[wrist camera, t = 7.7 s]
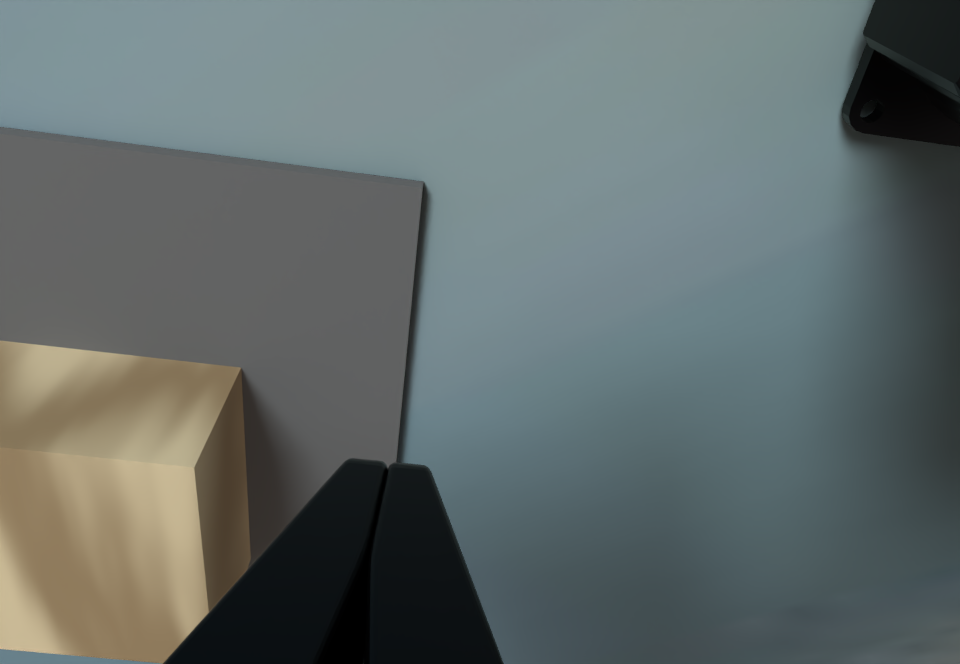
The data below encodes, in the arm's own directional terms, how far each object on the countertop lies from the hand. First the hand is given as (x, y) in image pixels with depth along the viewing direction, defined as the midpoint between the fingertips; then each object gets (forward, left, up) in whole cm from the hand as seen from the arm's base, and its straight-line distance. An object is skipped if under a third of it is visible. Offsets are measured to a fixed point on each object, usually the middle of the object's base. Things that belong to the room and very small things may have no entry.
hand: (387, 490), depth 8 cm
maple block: (+5, +11, -9) cm, 16 cm away
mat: (+8, +11, -12) cm, 18 cm away
